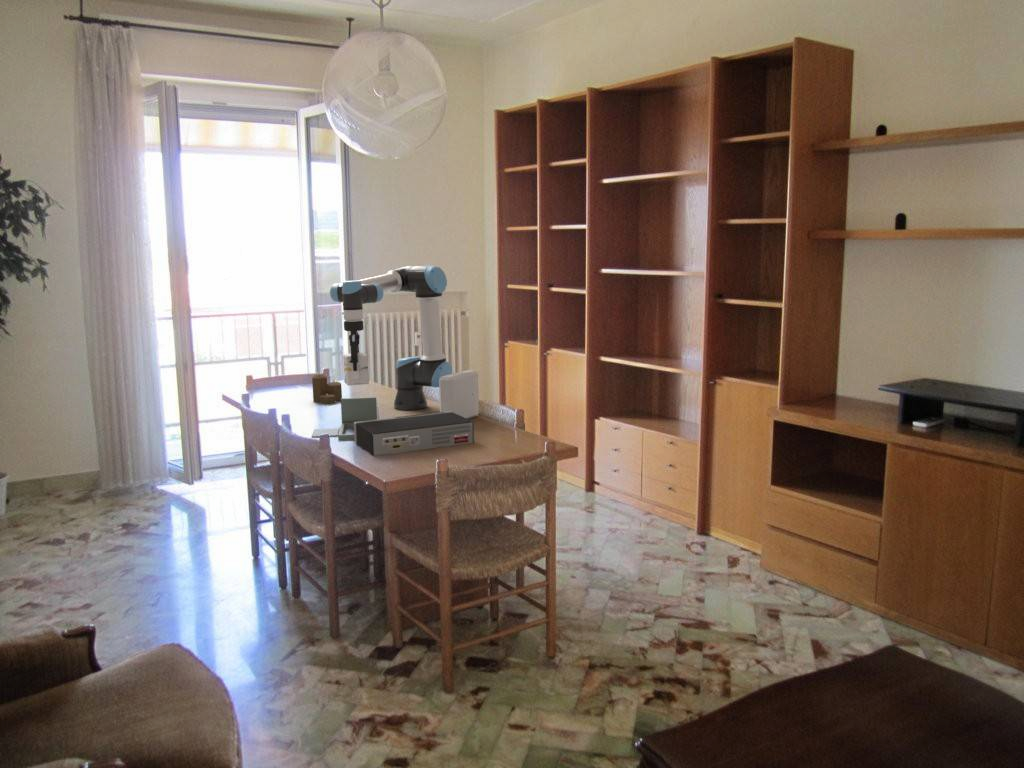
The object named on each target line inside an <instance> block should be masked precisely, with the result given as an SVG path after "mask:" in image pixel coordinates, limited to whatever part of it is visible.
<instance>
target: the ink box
mask: <svg viewBox="0 0 1024 768" xmlns="http://www.w3.org/2000/svg"><path fill="white" fill-rule="evenodd" d="M342 359H343V374H344V375H343V377H344V383H345V385H347V386H348V387H349V386H360V385H362V386H363V385H370V381H369V379H370V378H369V362H368V361H369V360H368V355H367V354H365V352H359V353H358V363H359V379H352V367H351V363H350V362H349V361H351V352H350V353H343V355H342ZM355 359H356V358H355Z"/></svg>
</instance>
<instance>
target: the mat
mask: <svg viewBox="0 0 1024 768" xmlns="http://www.w3.org/2000/svg"><path fill="white" fill-rule="evenodd" d="M339 431H340V428H338V427H337V428H336V427H334V428H317V429H316V428H314V429H313V432H312V433H311V438H320V437H319V436H320V435H321V434H323V433H328V434H329V435H330V437H329V438H332V437H333V438H335V437H337V438H338V434H339Z"/></svg>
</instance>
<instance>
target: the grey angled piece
mask: <svg viewBox="0 0 1024 768" xmlns="http://www.w3.org/2000/svg"><path fill="white" fill-rule="evenodd" d="M340 410H341V424H340V428H339V429H340V430H339V433H338V436H337V438H338V441H355V436H354V433H346V434H344V433H345V429H354V422H358V421H367V420H376V419H380V403H377V397H375V396H374V397H373V396H371V397H351V398H350V397H346V398H343V397H342V399H341V401H340Z"/></svg>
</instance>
